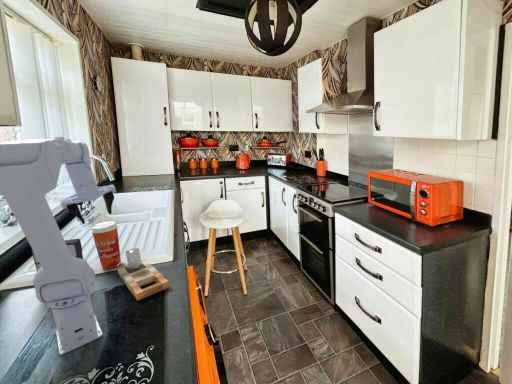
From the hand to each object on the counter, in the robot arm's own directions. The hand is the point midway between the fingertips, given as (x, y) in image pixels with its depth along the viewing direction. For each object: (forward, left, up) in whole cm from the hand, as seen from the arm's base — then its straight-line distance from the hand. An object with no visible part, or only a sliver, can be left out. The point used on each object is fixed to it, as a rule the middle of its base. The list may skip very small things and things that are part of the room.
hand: (96, 217), depth 85 cm
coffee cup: (+5, -2, -20) cm, 20 cm away
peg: (-8, -7, -19) cm, 22 cm away
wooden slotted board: (-14, -7, -19) cm, 25 cm away
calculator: (-3, +12, -20) cm, 23 cm away
